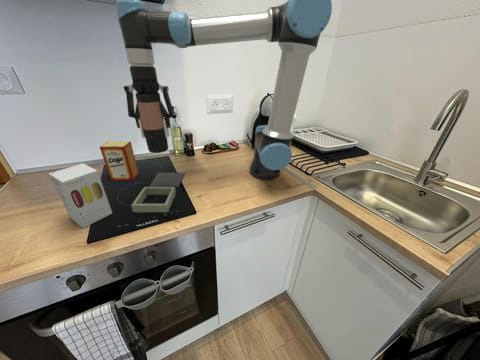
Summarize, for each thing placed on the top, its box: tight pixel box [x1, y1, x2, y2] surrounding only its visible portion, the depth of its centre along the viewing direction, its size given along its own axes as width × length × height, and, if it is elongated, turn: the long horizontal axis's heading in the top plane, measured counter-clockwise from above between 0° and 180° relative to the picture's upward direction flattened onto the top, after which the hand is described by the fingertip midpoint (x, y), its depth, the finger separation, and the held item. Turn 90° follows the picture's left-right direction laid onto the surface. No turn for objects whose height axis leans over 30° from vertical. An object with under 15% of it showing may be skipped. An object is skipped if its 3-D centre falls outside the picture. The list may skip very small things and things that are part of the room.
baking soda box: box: [99, 140, 139, 181], centre depth 86 cm, size 10×6×16 cm
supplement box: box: [48, 163, 113, 229], centre depth 63 cm, size 10×9×17 cm
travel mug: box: [135, 92, 169, 154], centre depth 71 cm, size 8×8×20 cm
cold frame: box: [131, 186, 177, 213], centre depth 74 cm, size 12×12×3 cm
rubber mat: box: [149, 172, 185, 188], centre depth 89 cm, size 12×12×1 cm
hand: (156, 136), depth 73 cm, fingers closed on travel mug, 8 cm apart
